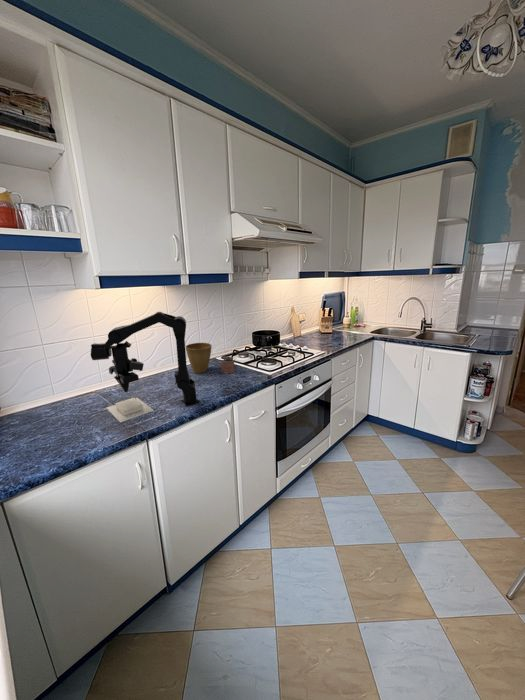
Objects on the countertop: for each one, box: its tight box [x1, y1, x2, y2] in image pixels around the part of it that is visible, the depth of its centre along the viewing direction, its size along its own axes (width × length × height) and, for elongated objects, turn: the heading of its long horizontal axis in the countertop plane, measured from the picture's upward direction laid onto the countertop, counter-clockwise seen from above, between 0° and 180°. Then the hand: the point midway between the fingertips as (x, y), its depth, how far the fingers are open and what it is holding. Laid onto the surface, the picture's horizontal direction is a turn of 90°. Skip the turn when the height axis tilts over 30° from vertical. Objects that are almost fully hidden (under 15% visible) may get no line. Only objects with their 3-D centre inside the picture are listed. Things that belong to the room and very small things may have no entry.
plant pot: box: [185, 342, 212, 374], centre depth 172 cm, size 15×15×16 cm
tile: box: [114, 397, 143, 416], centre depth 127 cm, size 2×8×10 cm
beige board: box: [106, 397, 154, 423], centre depth 128 cm, size 18×14×1 cm
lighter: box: [220, 355, 236, 375], centre depth 170 cm, size 8×3×10 cm, turn 84°
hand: (126, 391), depth 126 cm, fingers closed
